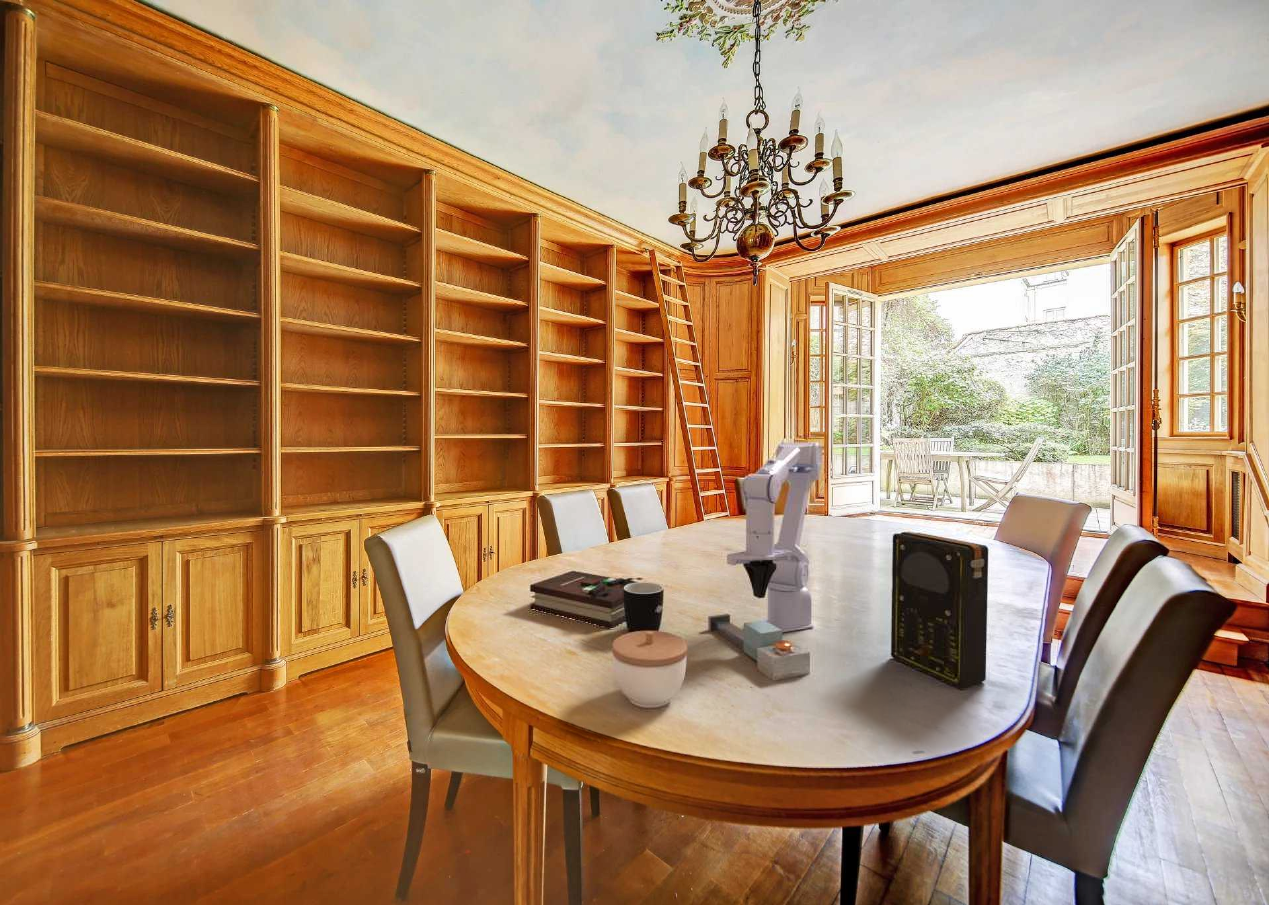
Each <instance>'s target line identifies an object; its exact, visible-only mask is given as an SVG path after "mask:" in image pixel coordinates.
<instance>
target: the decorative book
mask: <svg viewBox="0 0 1269 905" xmlns="http://www.w3.org/2000/svg"><path fill="white" fill-rule="evenodd" d="M636 580H638V581H642V580H644V578H643V577H636V578H635V580H634V578H632V577H628V578H622V577H620V578H616V577H610V576H604V575H598V574H595V573H594V574H593V573H588V572H582V571H576V570H571V571H568V572H565V573H562V574H559V575H555V576H552V577H549V578H547V579H544V580H541V581H538V582H536V583H532V584H530V585H529V592H531V593H534V595H531V596H530V598H534V603H531V604H530V605H529V606H530V608H529V609H535V610H538V611H543V612H546V613H551V614H554V615H559V616H564V617H567V618H572V619H575V620H580V621H583V622H588V623H591V624H590V625H592V624H596V625H599V626H598V627H600V626H604V627H607V628H606V629H608V628H613V629H615V628H617V627H619V626H620V625H619V624H621V625H623V624H624V623H623V622H625V623H626V619H625V611H624V598H623V588H624V586H626V585H628V584H631V583H638V581H636ZM538 611H537V612H538ZM546 613H545V614H546ZM554 615H553V616H554ZM559 616H558V617H559ZM567 618H566V619H567ZM575 620H574V621H575ZM583 622H582V623H583ZM588 623H587V624H588ZM622 623H623V624H622ZM596 625H595V626H596ZM618 625H619V626H618ZM616 626H617V627H616ZM604 627H603V628H604ZM614 627H615V628H614Z"/></svg>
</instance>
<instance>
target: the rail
mask: <svg viewBox="0 0 1269 905" xmlns="http://www.w3.org/2000/svg"><path fill="white" fill-rule="evenodd" d="M707 617H708V625H707V626H708V629H707V630H708V631H709V632H713V631H714V632H716V633H717V634H719V635H720V636H722V637H723V638H725V639H726V640H728V641H730V643H733V644H734V645H735V646H737V647H738V648H739V649H741V650H742V651H744V629H742V628H740V627H739V626H736V625H735V624H733V623H732V622H731V615H730V614H729V613H723V614H718V615H710V616H707Z"/></svg>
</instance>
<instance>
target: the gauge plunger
mask: <svg viewBox="0 0 1269 905" xmlns="http://www.w3.org/2000/svg"><path fill="white" fill-rule="evenodd" d="M775 647H776V648H777V652H778V653H779V654H781V655H783V654H789V653H790V649H792V641H790V640H789V641H788V640H785V639H782V640H777V641H775Z"/></svg>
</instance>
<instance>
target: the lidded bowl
mask: <svg viewBox="0 0 1269 905" xmlns="http://www.w3.org/2000/svg"><path fill="white" fill-rule="evenodd" d="M611 651H612V666H613V673H614V678H615V681H616V683H617V686H618V687H619V689H620V691H621V692H622V693H623V695H625V697H627V699H628V700H629V702H630V703H631V704H632V705H634V706H637V707H640V708H645V709H657V708H662V707H664V706H665V705H668V704H669V703H670V702H671V700H672V699H673V697H675V696H676V694H677V693H679V691H680V689H681V688H682V685H683V683H684V680H685V675H686V671H687V670H686V669H687V660H688V659H687V655H688V644H687V642H686V641H685V640H684V639H683V638H682V637H681V636H678V635H677V634H673V633H670V632H666V631H661V630H659V631H636V632H631V633H629V632H627V633H624V634H622V635H620V636H618V637H616V638H615V639H614V640H613V642H612V645H611Z"/></svg>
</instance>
